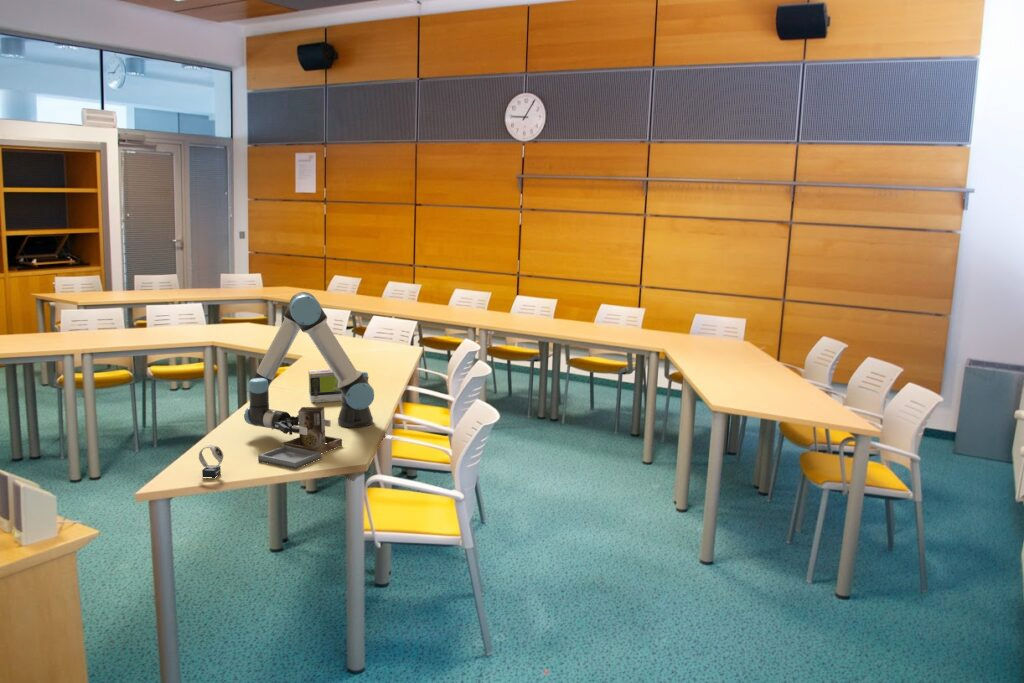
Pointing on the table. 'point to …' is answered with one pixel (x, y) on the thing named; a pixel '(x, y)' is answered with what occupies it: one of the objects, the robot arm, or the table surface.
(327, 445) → the collar
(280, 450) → the tray
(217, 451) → the watch
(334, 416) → the table surface
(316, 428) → the coffee box
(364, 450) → the table surface
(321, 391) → the tea box
